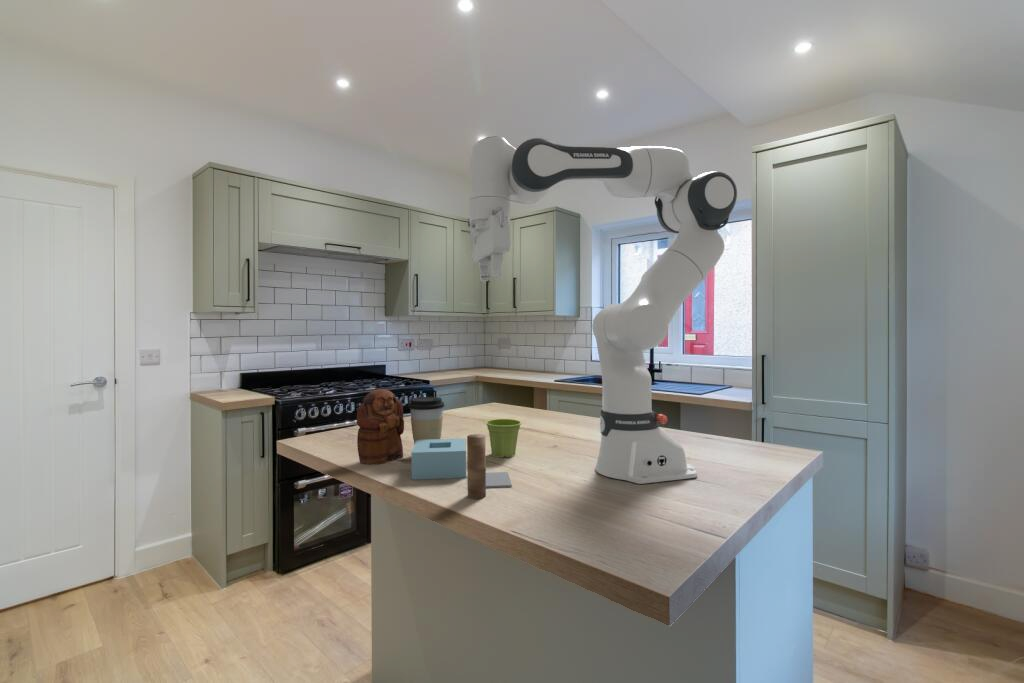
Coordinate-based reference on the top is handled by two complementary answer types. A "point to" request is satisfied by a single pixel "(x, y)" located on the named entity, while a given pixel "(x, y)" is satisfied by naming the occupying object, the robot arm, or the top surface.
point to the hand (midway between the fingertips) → (489, 279)
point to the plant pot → (503, 436)
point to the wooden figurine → (380, 427)
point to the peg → (476, 466)
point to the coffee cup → (426, 417)
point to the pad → (498, 480)
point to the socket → (439, 459)
